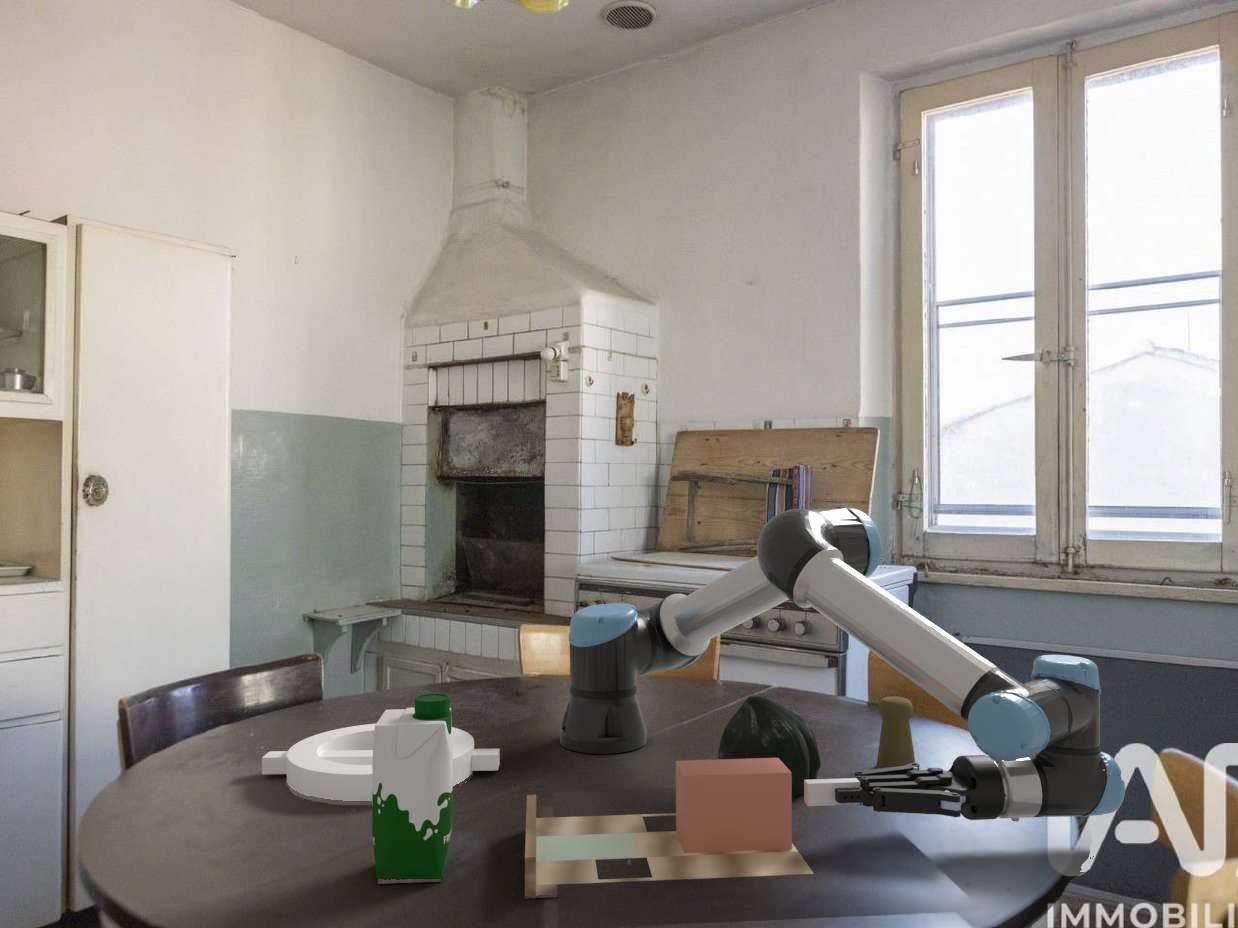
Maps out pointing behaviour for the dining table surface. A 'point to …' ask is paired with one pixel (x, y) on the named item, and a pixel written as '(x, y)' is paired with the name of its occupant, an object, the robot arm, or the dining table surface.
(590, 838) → the pad
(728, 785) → the brick
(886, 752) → the cork
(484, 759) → the ring with crossbar
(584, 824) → the board
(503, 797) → the dining table surface
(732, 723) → the squash
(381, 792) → the milk carton
